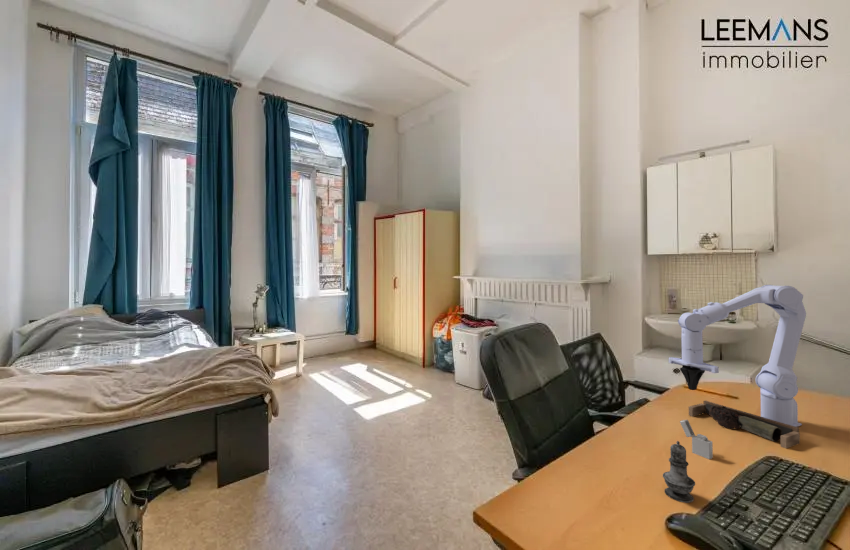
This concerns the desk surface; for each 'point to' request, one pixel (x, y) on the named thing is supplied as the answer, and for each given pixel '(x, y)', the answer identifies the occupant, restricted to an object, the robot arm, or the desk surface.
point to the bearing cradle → (788, 432)
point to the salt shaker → (678, 476)
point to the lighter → (698, 441)
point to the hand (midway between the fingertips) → (692, 389)
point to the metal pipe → (744, 423)
